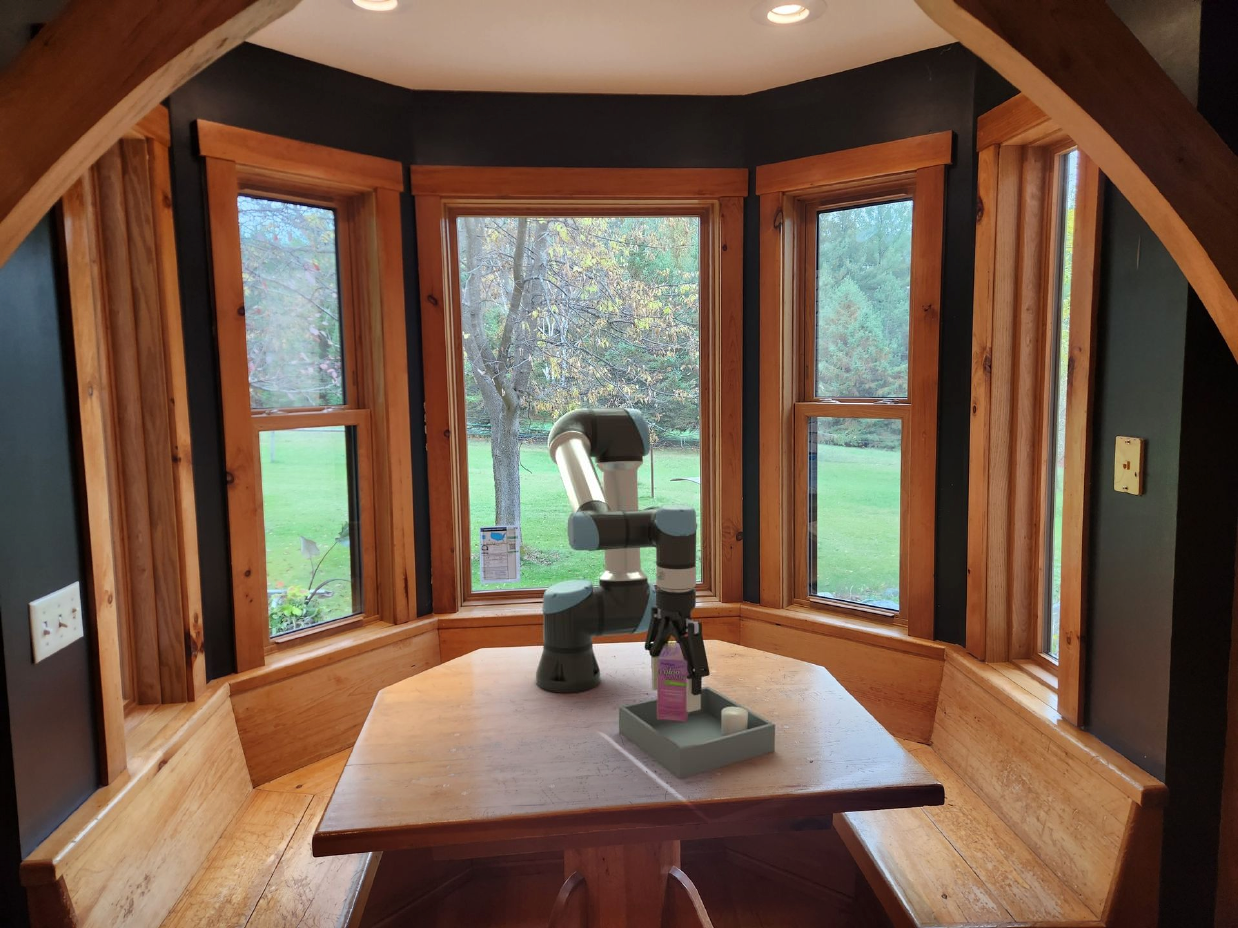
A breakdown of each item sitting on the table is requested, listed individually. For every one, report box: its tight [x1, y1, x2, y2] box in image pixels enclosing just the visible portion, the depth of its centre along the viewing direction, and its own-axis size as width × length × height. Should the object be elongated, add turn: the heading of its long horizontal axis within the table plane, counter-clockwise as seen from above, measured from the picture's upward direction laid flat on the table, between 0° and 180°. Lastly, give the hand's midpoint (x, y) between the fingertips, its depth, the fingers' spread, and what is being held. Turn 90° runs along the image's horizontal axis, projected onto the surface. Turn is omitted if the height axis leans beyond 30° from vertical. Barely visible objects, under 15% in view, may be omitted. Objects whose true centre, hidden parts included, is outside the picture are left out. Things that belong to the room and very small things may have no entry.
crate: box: [618, 686, 776, 780], centre depth 151 cm, size 22×22×6 cm
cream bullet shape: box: [721, 707, 748, 737], centre depth 151 cm, size 5×5×6 cm
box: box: [656, 641, 689, 722], centre depth 149 cm, size 10×6×12 cm, turn 168°
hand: (675, 698), depth 149 cm, fingers closed on box, 11 cm apart
